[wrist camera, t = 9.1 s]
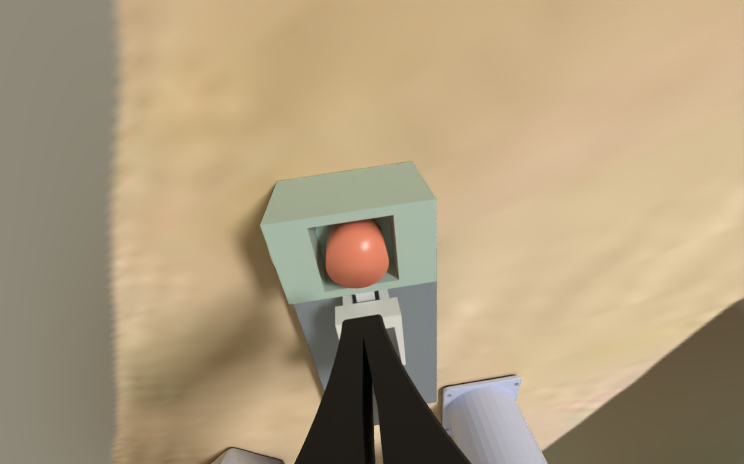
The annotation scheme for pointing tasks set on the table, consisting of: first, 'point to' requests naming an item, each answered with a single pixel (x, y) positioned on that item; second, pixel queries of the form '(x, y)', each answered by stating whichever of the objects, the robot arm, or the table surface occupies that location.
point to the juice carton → (244, 458)
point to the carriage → (390, 318)
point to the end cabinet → (345, 204)
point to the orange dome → (356, 253)
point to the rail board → (416, 324)
